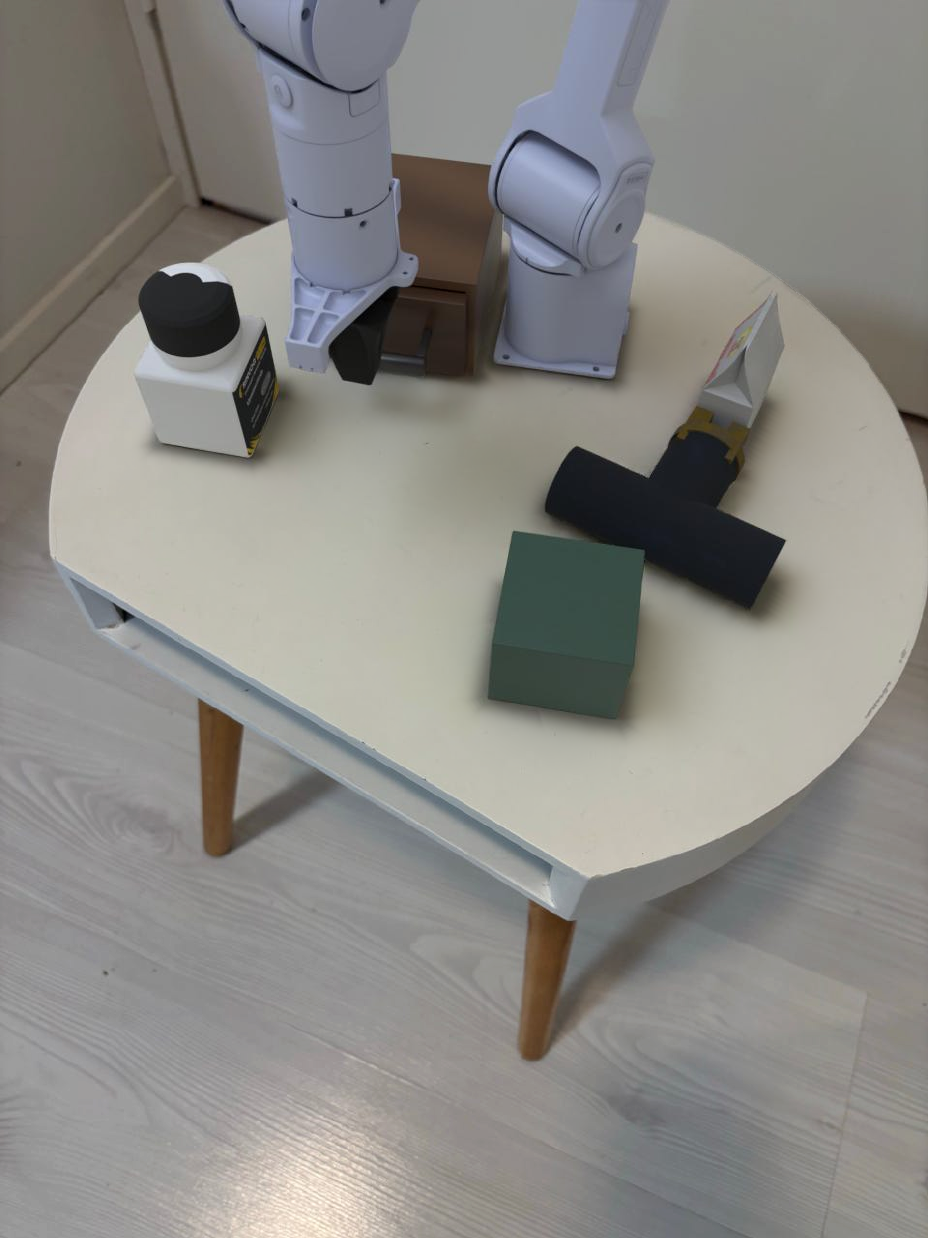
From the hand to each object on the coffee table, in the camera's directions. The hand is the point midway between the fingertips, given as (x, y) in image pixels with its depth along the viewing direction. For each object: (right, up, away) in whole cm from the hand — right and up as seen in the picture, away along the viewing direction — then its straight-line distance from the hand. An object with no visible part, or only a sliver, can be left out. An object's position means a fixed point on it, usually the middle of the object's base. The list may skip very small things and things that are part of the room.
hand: (359, 375), depth 61 cm
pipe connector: (+21, -8, +6) cm, 24 cm away
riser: (+13, -18, 0) cm, 22 cm away
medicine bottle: (-11, -1, +11) cm, 16 cm away
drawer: (+2, +7, +14) cm, 16 cm away
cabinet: (+3, +10, +17) cm, 20 cm away
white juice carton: (+26, -1, +11) cm, 28 cm away
